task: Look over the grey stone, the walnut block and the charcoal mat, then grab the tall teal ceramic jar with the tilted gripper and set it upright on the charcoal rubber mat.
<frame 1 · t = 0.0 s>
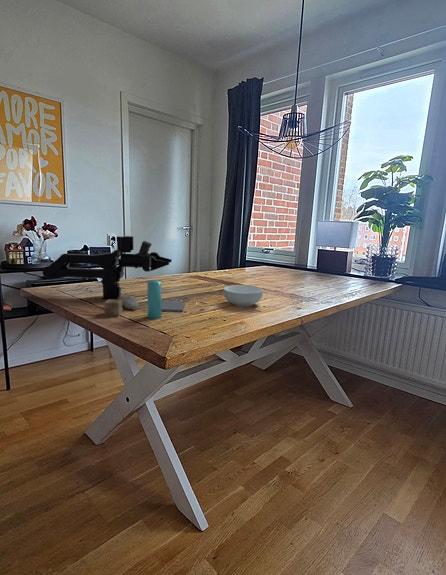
hand: (170, 262, 142), 17 cm above the table, tool horizontal, fingers open, 9 cm apart
charcoal mat: (167, 307, 132), on the table
decorative stone: (129, 307, 132), on the table
teal jar: (154, 316, 119), on the table
cereal bowl: (242, 305, 142), on the table
walnut block: (113, 314, 120), on the table
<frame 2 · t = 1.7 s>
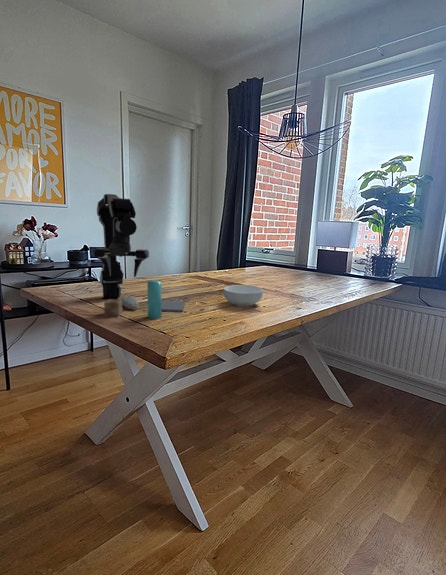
hand: (122, 276, 122), 13 cm above the table, tool pointing down, fingers open, 9 cm apart
nothing on the table moved.
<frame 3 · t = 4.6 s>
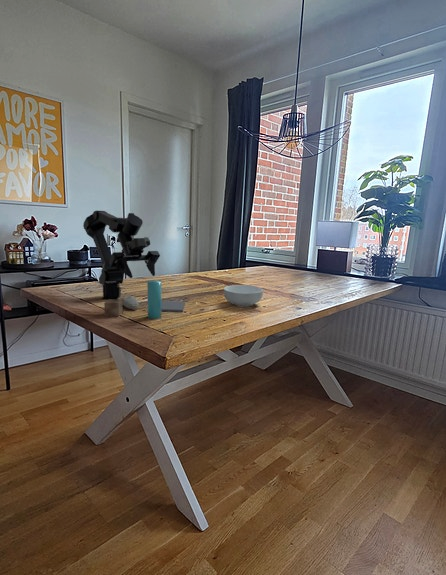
hand: (143, 276, 122), 14 cm above the table, tool tilted 45°, fingers open, 9 cm apart
nothing on the table moved.
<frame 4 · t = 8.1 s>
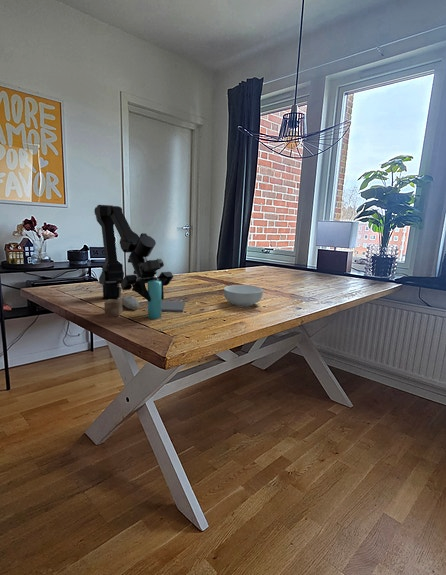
hand: (156, 299, 116), 7 cm above the table, tool tilted 45°, fingers closed on teal jar, 5 cm apart
teal jar: (154, 316, 118), on the table, touching gripper
everything else where it was.
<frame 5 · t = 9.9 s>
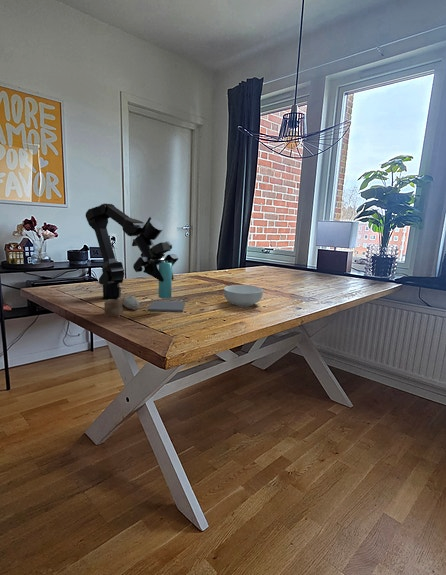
hand: (167, 280, 123), 12 cm above the table, tool tilted 45°, fingers closed on teal jar, 5 cm apart
teal jar: (164, 296, 125), point 6 cm above the table, touching gripper
everything else where it was.
when the fingers open (9 cm above the table, at t = 12.0 s): teal jar drops 1 cm, resting on charcoal mat.
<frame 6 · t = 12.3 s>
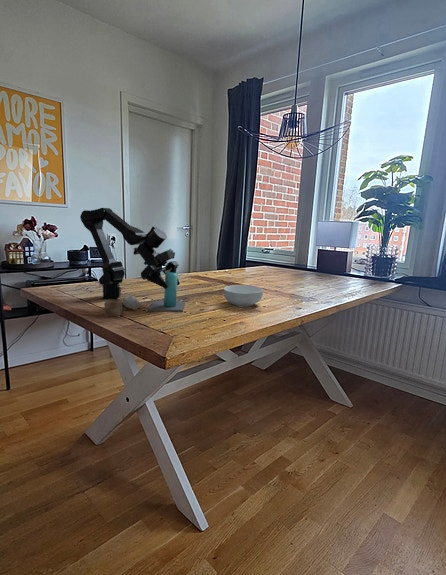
hand: (173, 286, 129), 9 cm above the table, tool tilted 45°, fingers open, 8 cm apart
teal jar: (169, 305, 131), point 1 cm above the table, touching charcoal mat
everything else where it was.
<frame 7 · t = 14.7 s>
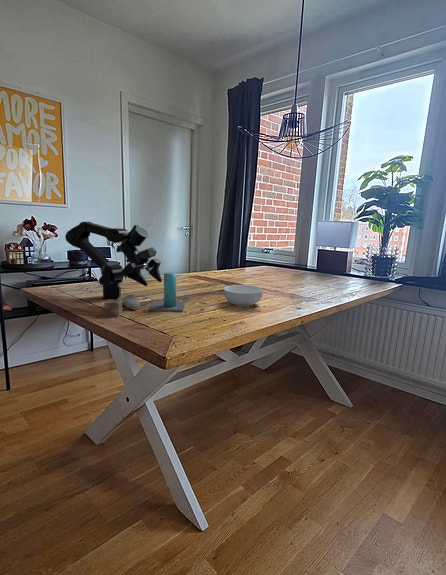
hand: (154, 283, 133), 9 cm above the table, tool tilted 45°, fingers open, 9 cm apart
nothing on the table moved.
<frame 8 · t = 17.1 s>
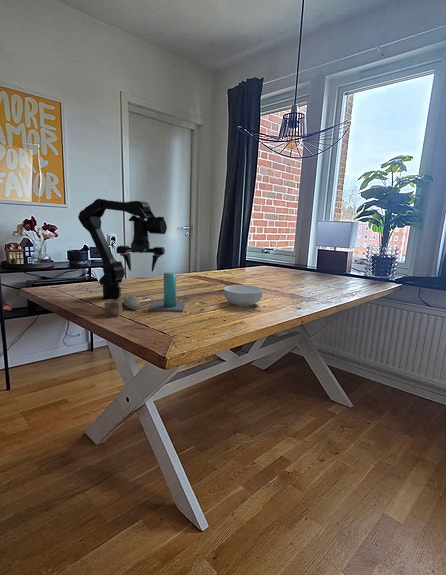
hand: (141, 271, 137), 13 cm above the table, tool pointing down, fingers open, 9 cm apart
nothing on the table moved.
at the end: teal jar inside the target area (1.0 cm from its centre), point 0.8 cm above the table; teal jar tilted 0°; the gripper is holding nothing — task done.
